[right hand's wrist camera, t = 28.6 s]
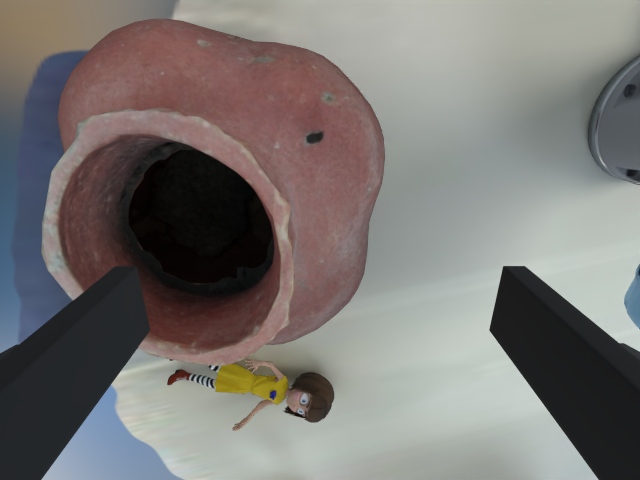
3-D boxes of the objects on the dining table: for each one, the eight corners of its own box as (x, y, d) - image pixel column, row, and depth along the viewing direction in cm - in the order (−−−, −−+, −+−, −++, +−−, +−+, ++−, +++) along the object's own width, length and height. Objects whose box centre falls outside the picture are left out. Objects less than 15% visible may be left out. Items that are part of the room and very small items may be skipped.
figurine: (164, 342, 48) (341, 391, 47) (190, 313, 55) (344, 355, 54) (159, 412, 53) (319, 457, 52) (183, 377, 60) (325, 416, 59)
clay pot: (84, 71, 40) (-251, 33, 16) (347, 9, 37) (392, -138, 14) (177, 299, 51) (57, 468, 28) (384, 262, 48) (444, 411, 25)
